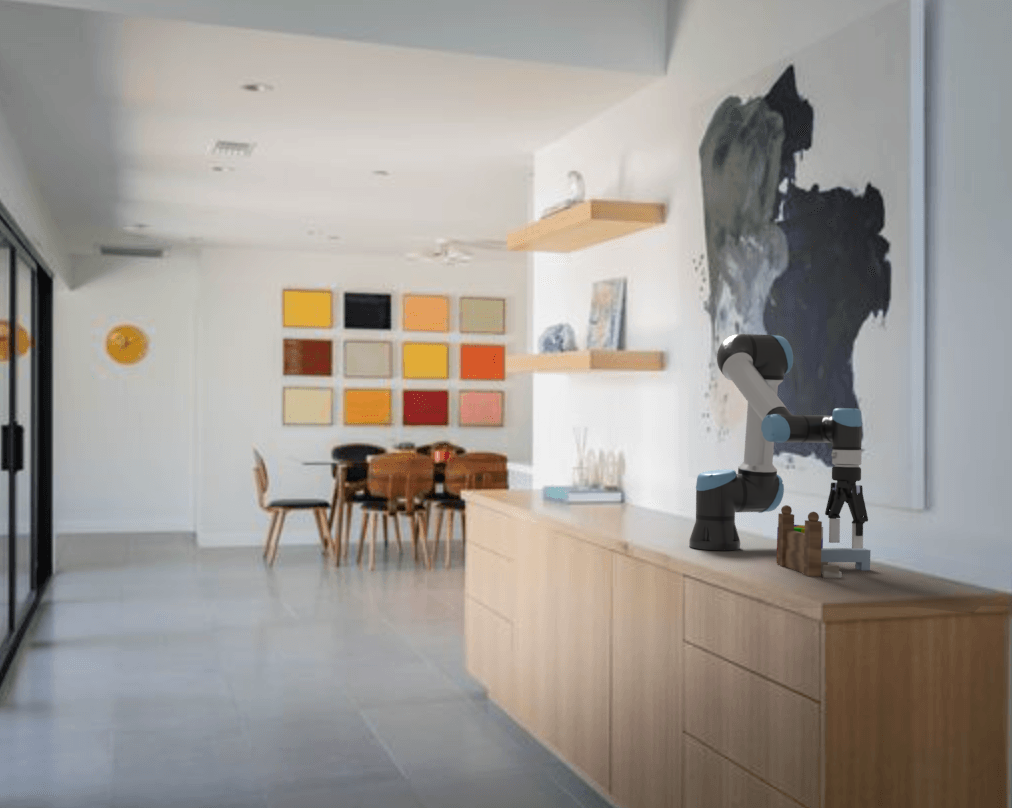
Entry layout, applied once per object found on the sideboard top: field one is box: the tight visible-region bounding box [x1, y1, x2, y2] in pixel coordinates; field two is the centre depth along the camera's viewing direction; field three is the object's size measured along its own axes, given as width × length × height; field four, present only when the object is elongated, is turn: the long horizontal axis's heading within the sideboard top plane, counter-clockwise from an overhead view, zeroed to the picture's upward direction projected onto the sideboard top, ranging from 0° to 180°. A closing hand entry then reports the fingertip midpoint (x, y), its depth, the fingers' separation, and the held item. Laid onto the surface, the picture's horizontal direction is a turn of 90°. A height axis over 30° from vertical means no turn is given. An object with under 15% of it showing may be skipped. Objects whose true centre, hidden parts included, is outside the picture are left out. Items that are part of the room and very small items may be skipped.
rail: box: [821, 547, 871, 571], centre depth 312 cm, size 4×16×5 cm, turn 99°
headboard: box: [776, 505, 843, 579], centre depth 307 cm, size 22×8×16 cm, turn 10°
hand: (845, 545), depth 311 cm, fingers open, 13 cm apart
